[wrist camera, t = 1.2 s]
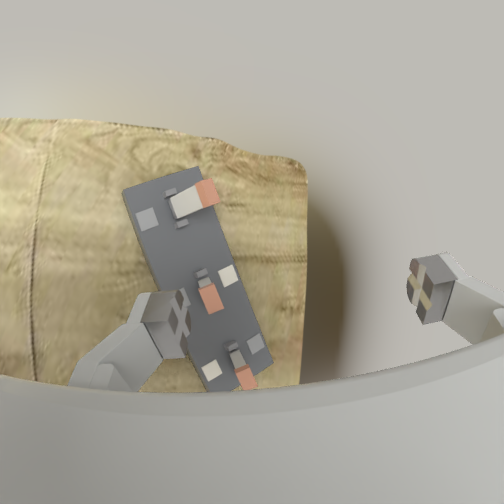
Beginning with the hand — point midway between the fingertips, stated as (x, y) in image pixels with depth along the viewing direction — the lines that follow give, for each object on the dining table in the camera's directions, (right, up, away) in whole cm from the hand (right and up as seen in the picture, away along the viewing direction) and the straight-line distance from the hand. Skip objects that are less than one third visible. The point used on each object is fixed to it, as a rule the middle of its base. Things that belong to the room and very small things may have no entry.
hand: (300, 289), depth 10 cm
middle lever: (-8, -4, +33) cm, 34 cm away
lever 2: (-4, -15, +35) cm, 38 cm away
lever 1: (-12, +7, +31) cm, 34 cm away
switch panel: (-10, -4, +36) cm, 37 cm away
